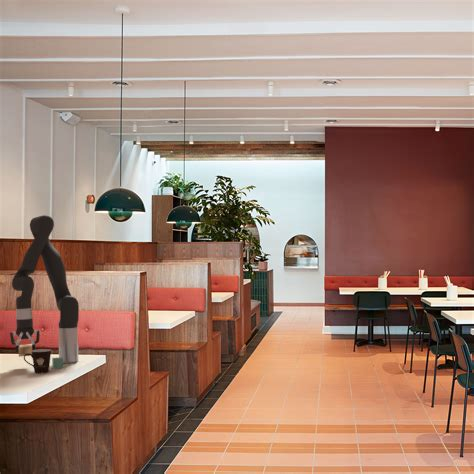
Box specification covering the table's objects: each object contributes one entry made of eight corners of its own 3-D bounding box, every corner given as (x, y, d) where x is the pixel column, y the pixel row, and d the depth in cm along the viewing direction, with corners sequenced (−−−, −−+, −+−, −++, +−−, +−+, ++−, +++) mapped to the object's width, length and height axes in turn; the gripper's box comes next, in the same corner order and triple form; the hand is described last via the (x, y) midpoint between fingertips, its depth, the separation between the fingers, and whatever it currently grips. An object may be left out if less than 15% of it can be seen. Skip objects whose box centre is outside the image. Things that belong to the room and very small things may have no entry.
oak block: (33, 352, 335) (32, 343, 335) (32, 355, 324) (31, 347, 324) (20, 353, 334) (19, 344, 334) (18, 356, 323) (18, 348, 323)
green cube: (62, 366, 333) (61, 357, 333) (63, 368, 329) (63, 358, 329) (52, 367, 331) (52, 357, 331) (53, 368, 327) (53, 359, 327)
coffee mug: (55, 370, 321) (54, 349, 321) (44, 374, 312) (43, 352, 313) (33, 369, 324) (33, 348, 324) (22, 373, 316) (22, 351, 316)
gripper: (40, 316, 334) (42, 350, 334) (10, 317, 332) (11, 352, 332) (38, 317, 326) (40, 353, 326) (7, 319, 324) (9, 355, 324)
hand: (25, 352), depth 329 cm, fingers closed on oak block, 6 cm apart
